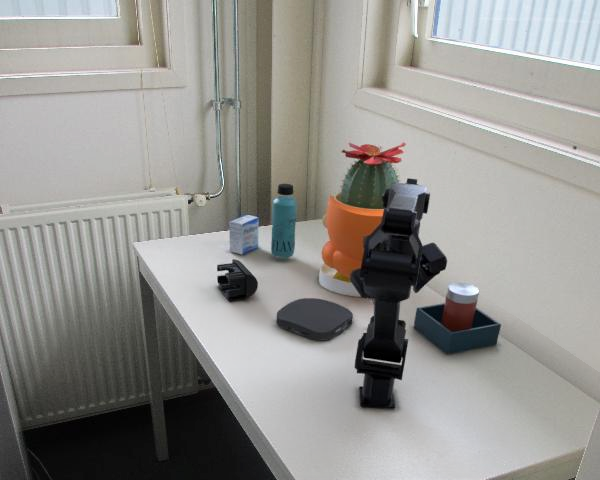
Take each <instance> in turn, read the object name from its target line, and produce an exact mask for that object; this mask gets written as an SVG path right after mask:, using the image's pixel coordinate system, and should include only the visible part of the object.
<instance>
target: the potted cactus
mask: <svg viewBox="0 0 600 480" xmlns="http://www.w3.org/2000/svg"><path fill="white" fill-rule="evenodd" d="M406 144H407V143H406V142H405V141H403V142H402V143H401V144H399V145H397V146H394V147H392V148H389V149H386V150H384V151H382V150H383V149H382V145H381V146H380V145H379V146H377V145H376V144H367V143H366V144H365V143H364V144H362V145H360V146H359V145H356V144H354V143H352V142H348V145H349V147H350V148H351V149H353V150H345V149H342V150H341V153H343V154H345V157H346V158H349V159H354V160H353V162H349V163H350V164H349V165H350V168H347V172H346V173H344V174H343V173H342V176H343V177H344V179H343V178H342V177H341V178H340V179H341V183H340V184H341V185H340V186H339V188H340V189H339V190H338V193H335V194H334V195H333V196H332V195H329V197H328V198H329V199H328V202H327V207H326V208H327V209H326V213H325V214H324V215H323V217H322V225H323V227H324V228H325V229H326V231H327V235H328V238H329V240H328V241H327V242H325V244H324V245H323V247H322V250H321V258H322V261H323V264H321V265H320V267H319V276H318V277H319V278H318V283H319V284H320V286H321V287H323V288H324V289H326V290H328V291H331V292H333V293H335V294H339V295H344V296H349V297H357V298H362V297H361V296H360V294H359V293H358V291H357V290H356V288H355V287H354V285H353V284H352V282H351V281H350V274H351V271H353V270H356V269H358V268H361V264H362V258H363V253H364V247H363V239H364V237H365V236H368V235H370V234H371V233H372V232H373V231H374V230H375V229H376V228H377V227H378V226H379V225H380V224H381V221H382V216H383V211H384V207H383V203H382V195H383V194H384V193H385V191H386V189H387V188H390V186H391V184H392V183H393V182H397V183H400V182H401V179H399V177H401V175H399V174H400V173H399V171H398V170H399V169H397V168H395V167H396V165H395V164H399V163H402V157H398V155H402V154H404V152H405V151H403V150H402V149H401V148H403V147H406ZM399 148H400V149H399ZM355 159H356V160H355ZM353 163H354V164H353ZM397 174H398V175H397Z"/></svg>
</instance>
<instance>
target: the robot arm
mask: <svg viewBox="0 0 600 480" xmlns="http://www.w3.org/2000/svg"><path fill="white" fill-rule="evenodd" d="M427 191H428V186H427V185H420V184H419V183H418V179H417V178H410V177H409V178H406V182H405V183H404V182H399V183H397V182H393V183H392V184H391V186H390V188H387V189H386V191H385V193H384V194H383V195H382V203H383V207H384V211H383V216H382V221H381V224H380V225H379V226H378V227H377V228H376V229H375V230H374V231H373V232H372V233H371V234H370V235H368V236H365V237H364V239H363V247H364V253H363V258H362V264H361V268H358V269H356V270H353V271H351V274H350V281H351V282H352V284H353V285H354V287H355V288H356V290H357V291H358V293H359V294H360V296H361V297H360V298H361V299H364V300H365V299H368V300H371V302H372V304H373V315H372V316H371V317H370V318H369V319H370V320H369V323H368V324H367V329H366V332H363V333H362V335H361V338H359V339H358V341H357V347H356V352H355V360H354V369H355V370H356V374H362V375H363V383H362V386H359V387H358V395H359V405H360V407H362V408H374V409H375V408H376V409H395V408H396V401H395V394H394V389H395V382H396V380H398V381H402V380H403V376H404V370H405V364H406V357H407V352H408V346H409V338H406V332H407V329H406V325H407V323H406V321H405V320H404V319H399V318H400V309H401V302H403V301H406V300H408V299H410V297H411V292H412V291H413V292H414V293H415V294H417V293H419V292H420V291H421V290H422V289H423V288H424V287H425V286H426V285H427V284H428V283H429V282H431V280H432V279H433V278H435V277H436V276H438V275H439V274H440V273H441V272H443V271H446V269H447V265H448V258H447V256H446V254H445V253H444V252H443V251H442V249H440V247H439V246H438V244H436V243H435V242H429V243H426V244H424V245H423V243H422V241H421V238H420V237H419V235H420V230H421V229H420V228H421V221H422V220H423V218H424V217H423V216H424V214H428V212H429V205H430V200H431V192H427Z"/></svg>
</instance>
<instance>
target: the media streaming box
mask: <svg viewBox="0 0 600 480" xmlns="http://www.w3.org/2000/svg"><path fill="white" fill-rule="evenodd" d="M353 318H354V313H353V312H352V311H351V310H350V309H349V308H348V307H345V306H344V305H341V304H338V303H336V302H333V301H330V300H326V299H324V298H323V299H322V298H317V297H302V298H298V299H295V300H293V301H291V302H289V303H287V304H285V305H284V306H282V307H281V308H280V309H279V310H278V311H277V312H276V320H275V321H276V325H277V326H278V327H279V328H281V329H283V330H286V331H288V332H291V333H293V334H296V335H300V336H302V337H304V338H308V339H311V340H316V341H327V340H330V339H333V338H334V337H336V336H337V335H340V333H342V332H344V331H346V330H347V329H348V328H349V327H350V326H352V325H353Z"/></svg>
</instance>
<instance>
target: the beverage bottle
mask: <svg viewBox="0 0 600 480" xmlns="http://www.w3.org/2000/svg"><path fill="white" fill-rule="evenodd" d="M277 194H278V195H280V196H277V197H276V198H275V199H274V200H272V228H271V242H270V243H271V244H270V245H271V247H270V252H271V255H272V256H274V257H277V258H290V257H292V256H294V254H295V246H296V223H297V221H296V220H297V204H298V203H297V200H295V199H294V197H292V195H294V185H293V184H290V183H279V184H278V186H277Z"/></svg>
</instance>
